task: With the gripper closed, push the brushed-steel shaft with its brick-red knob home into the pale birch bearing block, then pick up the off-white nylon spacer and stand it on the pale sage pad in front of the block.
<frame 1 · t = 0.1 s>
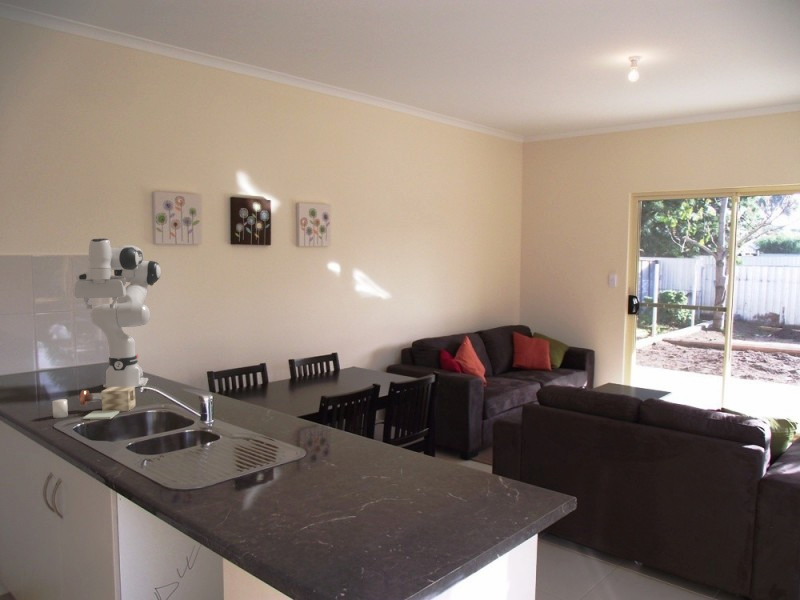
hand: (100, 308, 265), 39 cm above the worktop, tool pointing down, fingers open, 8 cm apart
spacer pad: (101, 415, 239), on the worktop
spacer: (60, 416, 239), on the worktop
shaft: (98, 397, 248), point 5 cm above the worktop, slide at 7.0 cm
bearing block: (119, 408, 249), on the worktop
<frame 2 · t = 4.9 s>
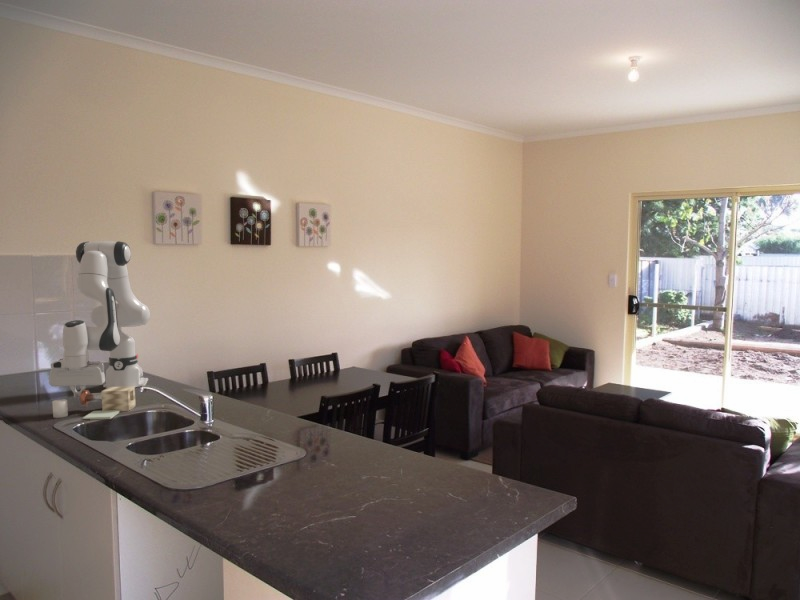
hand: (78, 396, 247), 6 cm above the worktop, tool pointing down, fingers closed
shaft: (98, 397, 248), point 5 cm above the worktop, slide at 6.7 cm, touching gripper
everything else where it was.
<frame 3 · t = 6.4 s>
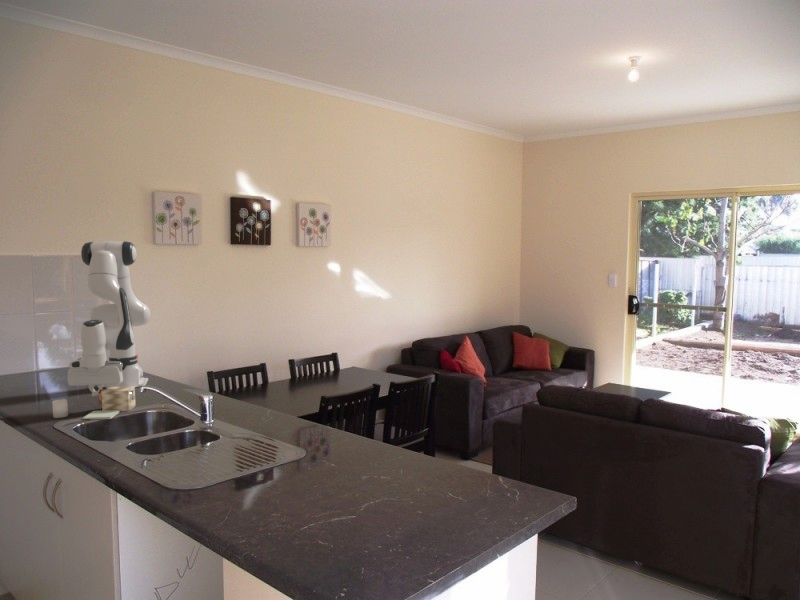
hand: (96, 395, 248), 6 cm above the worktop, tool pointing down, fingers closed
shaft: (116, 396, 248), point 5 cm above the worktop, slide at 0.0 cm, touching gripper
everything else where it was.
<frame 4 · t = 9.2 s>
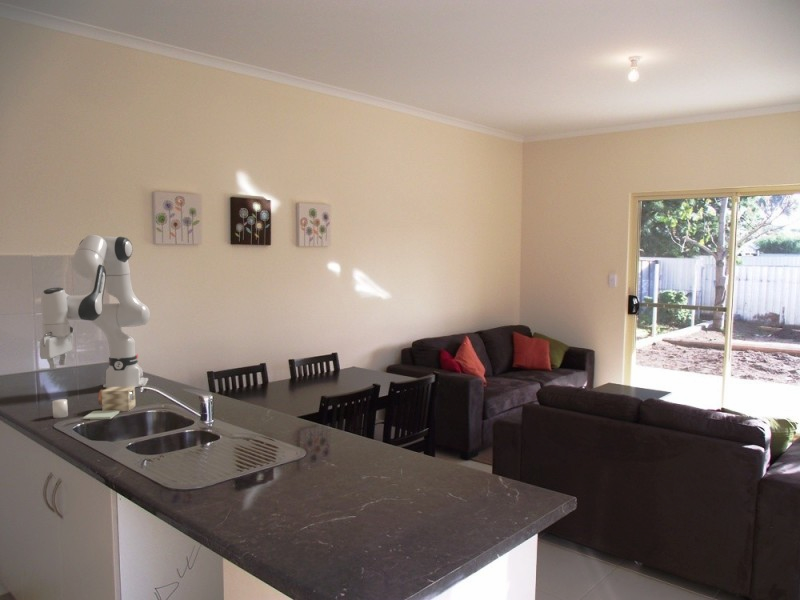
hand: (57, 366, 238), 19 cm above the worktop, tool pointing down, fingers open, 6 cm apart
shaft: (116, 396, 248), point 5 cm above the worktop, slide at 0.0 cm
everything else where it was.
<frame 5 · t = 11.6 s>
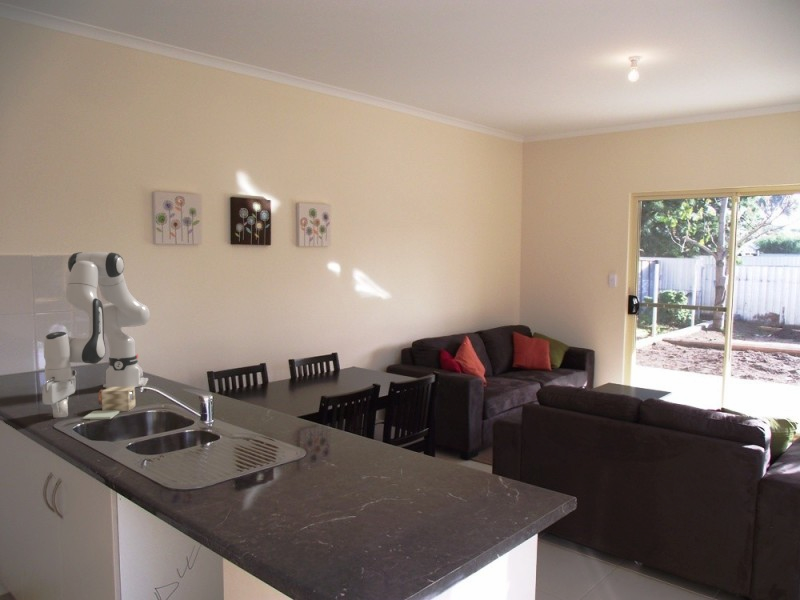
hand: (60, 410, 239), 2 cm above the worktop, tool pointing down, fingers closed on spacer, 5 cm apart
spacer: (60, 416, 239), on the worktop, touching gripper
everything else where it was.
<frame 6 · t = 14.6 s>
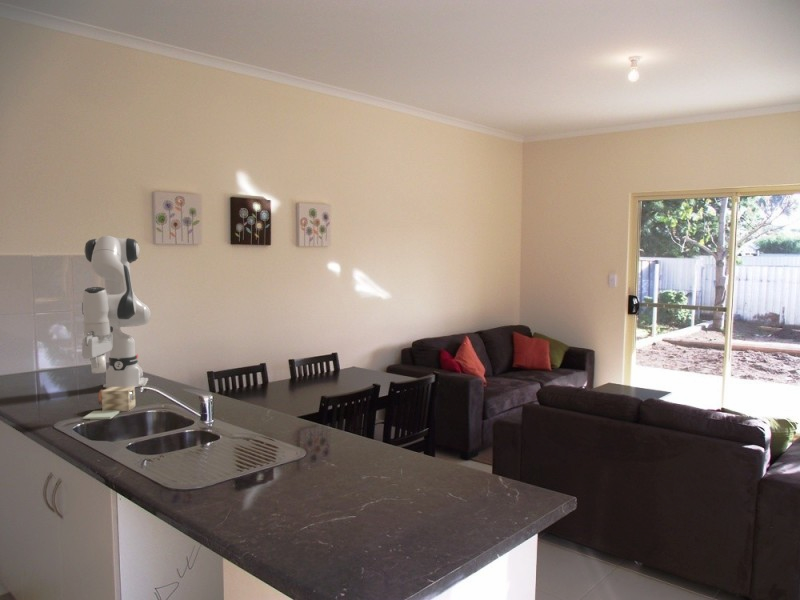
hand: (98, 366, 237), 19 cm above the worktop, tool pointing down, fingers closed on spacer, 5 cm apart
spacer: (99, 371, 237), point 17 cm above the worktop, touching gripper
everything else where it was.
when the fingers open (5 cm above the worktop, at t = 17.8 s): spacer drops 2 cm, resting on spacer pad.
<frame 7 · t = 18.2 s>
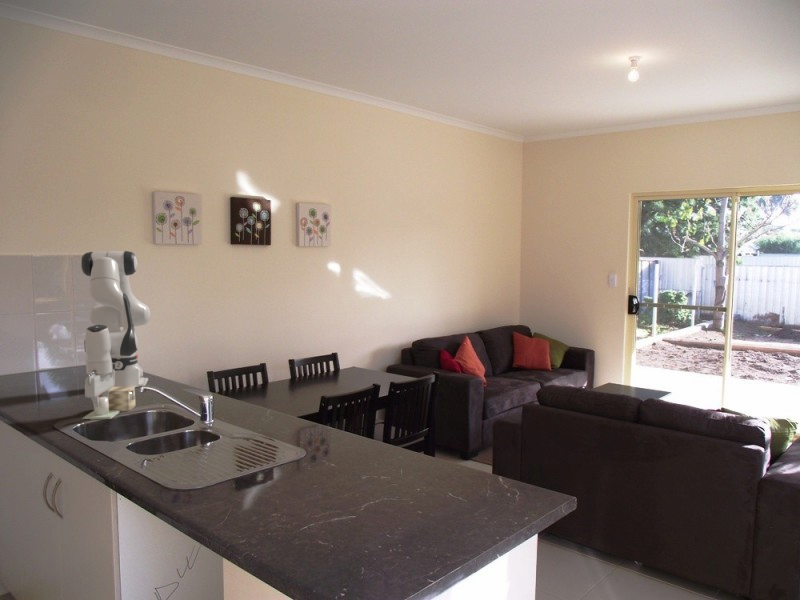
hand: (101, 404, 238), 5 cm above the worktop, tool pointing down, fingers open, 7 cm apart
spacer: (101, 413, 239), point 1 cm above the worktop, touching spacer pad
everything else where it was.
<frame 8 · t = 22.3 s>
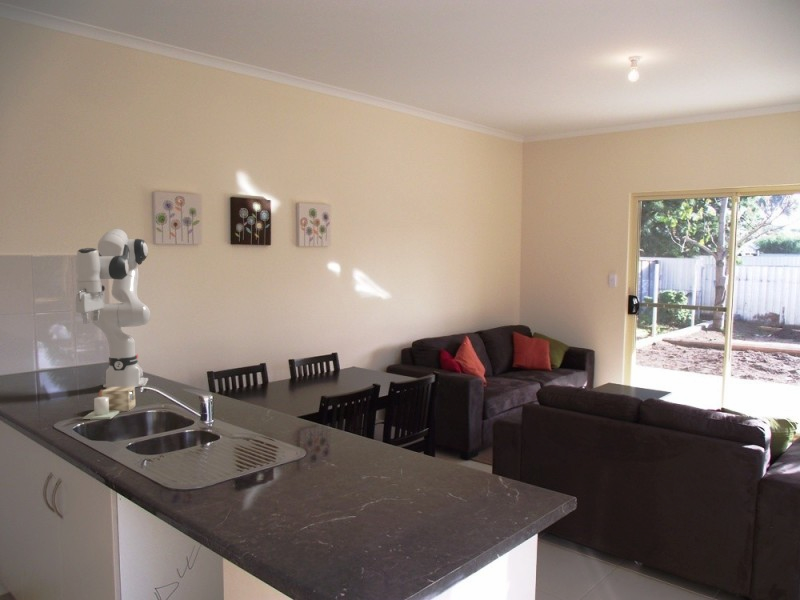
hand: (91, 321, 255), 34 cm above the worktop, tool pointing down, fingers open, 8 cm apart
nothing on the worktop moved.
at the end: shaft slide at 0.0 cm; spacer inside the target area (0.1 cm from its centre), point 0.9 cm above the worktop; spacer tilted 2° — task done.
